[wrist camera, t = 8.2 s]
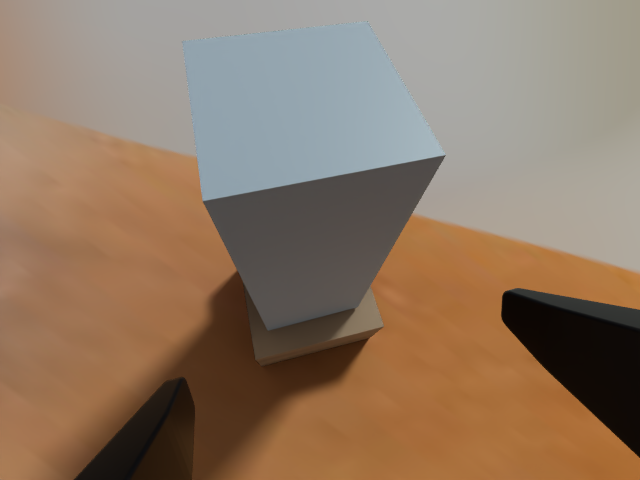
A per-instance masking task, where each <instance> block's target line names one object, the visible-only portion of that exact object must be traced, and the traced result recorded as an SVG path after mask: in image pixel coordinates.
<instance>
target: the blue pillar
mask: <svg viewBox="0 0 640 480" xmlns="http://www.w3.org/2000/svg"><path fill="white" fill-rule="evenodd" d="M182 43H183V51H184V58H185V66H186V73H187V82H188V88H189V97H190V105H191V113H192V121H193V129H194V136H195V144H196V151H197V160H198V168H199V175H200V183H201V191H202V199H203V203H204V205H205V207H206V208H207V210H208V212H209V214H210V216H211V218H212V220H213V222H214V224H215V226H216V228H217V230H218V232H219V234H220V236H221V238H222V240H223V242H224V244H225V246H226V248H227V250H228V252H229V254H230V256H231V258H232V260H233V262H234V264H235V266H236V268H237V270H238V272H239V274H240V276H241V278H242V280H243V282H244V284H245V286H246V288H247V290H248V292H249V294H250V296H251V298H252V300H253V302H254V304H255V306H256V308H257V310H258V312H259V314H260V316H261V318H262V320H263V322H264V324H265V326H266V328H267V330H268V331H269V330H273V329H277V328H281V327H284V326H288V325H292V324H296V323H300V322H303V321H307V320H311V319H315V318H319V317H322V316H326V315H330V314H334V313H337V312H341V311H345V310H349V309H353V308H356V307H358V306H359V304H360V303H361V301H362V299H363V297H364V296H365V294H366V292H367V290H368V289H369V287H370V285H371V283H372V282H373V280H374V278H375V277H376V275H377V273H378V271H379V270H380V268H381V266H382V264H383V263H384V261H385V259H386V258H387V256H388V254H389V252H390V251H391V249H392V247H393V245H394V244H395V242H396V240H397V239H398V237H399V235H400V233H401V232H402V230H403V228H404V226H405V225H406V223H407V221H408V220H409V218H410V216H411V214H412V213H413V211H414V209H415V207H416V205H417V204H418V202H419V200H420V199H421V197H422V195H423V194H424V192H425V190H426V188H427V187H428V185H429V183H430V181H431V180H432V178H433V176H434V174H435V173H436V171H437V169H438V167H439V166H440V164H441V163H442V161H443V159H444V157H445V156H446V154H445V153H444V151H443V149H442V148H441V146H440V144H439V142H438V141H437V139H436V137H435V136H434V134H433V132H432V130H431V129H430V127H429V125H428V124H427V122H426V120H425V118H424V117H423V115H422V113H421V112H420V110H419V108H418V106H417V105H416V103H415V101H414V100H413V98H412V96H411V95H410V93H409V91H408V89H407V88H406V86H405V84H404V83H403V81H402V79H401V77H400V76H399V74H398V73H397V71H396V69H395V67H394V66H393V64H392V62H391V60H390V59H389V57H388V55H387V54H386V52H385V50H384V48H383V47H382V45H381V43H380V41H379V40H378V38H377V36H376V35H375V33H374V31H373V30H372V28H371V26H370V24H369V23H368V21H364V22H355V23H346V24H336V25H328V26H319V27H309V28H300V29H291V30H281V31H273V32H263V33H253V34H244V35H235V36H226V37H216V38H207V39H198V40H189V41H183V42H182Z"/></svg>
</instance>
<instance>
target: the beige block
mask: <svg viewBox="0 0 640 480" xmlns="http://www.w3.org/2000/svg"><path fill="white" fill-rule="evenodd" d="M243 286H244V292H245V298H246V305H247V311H248V317H249V323H250V330H251V336H252V342H253V348H254V355H255V360H256V361H257V362H258V363H259V364H260V365H261V366H266V365H270V364H273V363H277V362H281V361H285V360H288V359H292V358H296V357H300V356H304V355H307V354H311V353H315V352H319V351H322V350H326V349H330V348H334V347H338V346H341V345H345V344H349V343H353V342H356V341H360V340H364V339H368V338H370V337H371V336H373V335H374V334H375V333H376V332H378V331H379V330H380V329H381V328H383V327H384V325H383V322H382V319H381V316H380V313H379V310H378V307H377V304H376V301H375V298H374V295H373V292H372V289H371V286H370V287H369V289H368V290H367V292H366V294H365V296H364V297H363V299H362V301H361V303H360V304H359V306H358V307H356V308H353V309H349V310H345V311H341V312H337V313H334V314H330V315H326V316H322V317H319V318H315V319H311V320H307V321H303V322H300V323H296V324H292V325H288V326H284V327H281V328H277V329H273V330H269V331H268V330H267V328H266V326H265V324H264V322H263V320H262V318H261V316H260V314H259V312H258V310H257V308H256V306H255V304H254V302H253V300H252V298H251V296H250V294H249V292H248V290H247V288H246V286H245V284H244V282H243Z"/></svg>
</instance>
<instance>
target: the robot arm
mask: <svg viewBox="0 0 640 480" xmlns="http://www.w3.org/2000/svg"><path fill="white" fill-rule="evenodd" d="M501 317H502V320H503V322H504V324H505V325H506V326H507V327H508V328H509V330H510V331H511V332H512V333H513V334H514V335H515V336H516V337H517V338H518V340H519V341H520V342H521V343H522V344H523V345H524V346H525V347H526V348H527V350H528V351H529V352H530V353H531V354H532V355H533V356H534V357H535V358H536V360H537V361H538V362H539V363H540V364H541V365H542V366H543V367H544V368H545V369H546V370H547V371H548V372H549V373H550V374H551V375H552V376H553V377H554V378H555V379H557V380H558V381H559V382H560V383H561V384H562V385H563V386H564V387H565V388H566V389H567V390H568V391H569V392H570V393H571V394H572V395H574V396H575V397H576V398H577V399H578V400H579V401H580V402H581V403H582V404H583V405H584V406H585V407H586V408H587V409H588V410H589V411H591V412H592V413H593V414H594V415H595V416H596V417H597V418H598V419H599V420H600V421H601V422H602V423H603V424H604V425H605V426H606V427H608V428H609V429H610V430H611V431H612V432H613V433H614V434H615V435H616V436H617V437H618V438H619V439H620V440H621V441H622V442H623V443H625V444H626V445H627V446H628V447H629V448H630V449H631V450H632V451H633V452H634V453H635V454H636V455H637V456H638V457H639V458H640V310H638V309H632V308H627V307H621V306H615V305H610V304H604V303H599V302H593V301H588V300H582V299H576V298H571V297H565V296H560V295H554V294H549V293H543V292H537V291H532V290H526V289H521V288H515V289H512V290H508V291H505V292H504V293H503V296H502V311H501ZM194 422H195V407H194V402H193V399H192V396H191V393H190V390H189V387H188V384H187V381H186V379H185V378H184V377H179V378H175V379H171V380H168V381H166V382H165V383H163V384H162V386H161V387H160V388H159V389H158V390H157V391H156V392H155V393H154V394H153V395H152V396H151V397H150V398H149V400H148V401H147V402H146V403H145V404H144V405H143V406H142V407H141V408H140V409H139V410H138V411H137V412H136V413H135V415H134V416H133V417H132V418H131V419H130V420H129V421H128V422H127V423H126V424H125V425H124V426H123V427H122V429H121V430H120V431H119V432H118V433H117V434H116V435H115V436H114V437H113V438H112V439H111V440H110V441H109V442H108V444H107V445H106V446H105V447H104V448H103V449H102V450H101V451H100V452H99V453H98V454H97V455H96V456H95V458H94V459H93V460H92V461H91V462H90V463H89V464H88V465H87V466H86V467H85V468H84V469H83V470H82V471H81V473H80V474H79V475H78V476H77V477H76V478H75V479H74V480H192V467H193V445H194Z"/></svg>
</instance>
